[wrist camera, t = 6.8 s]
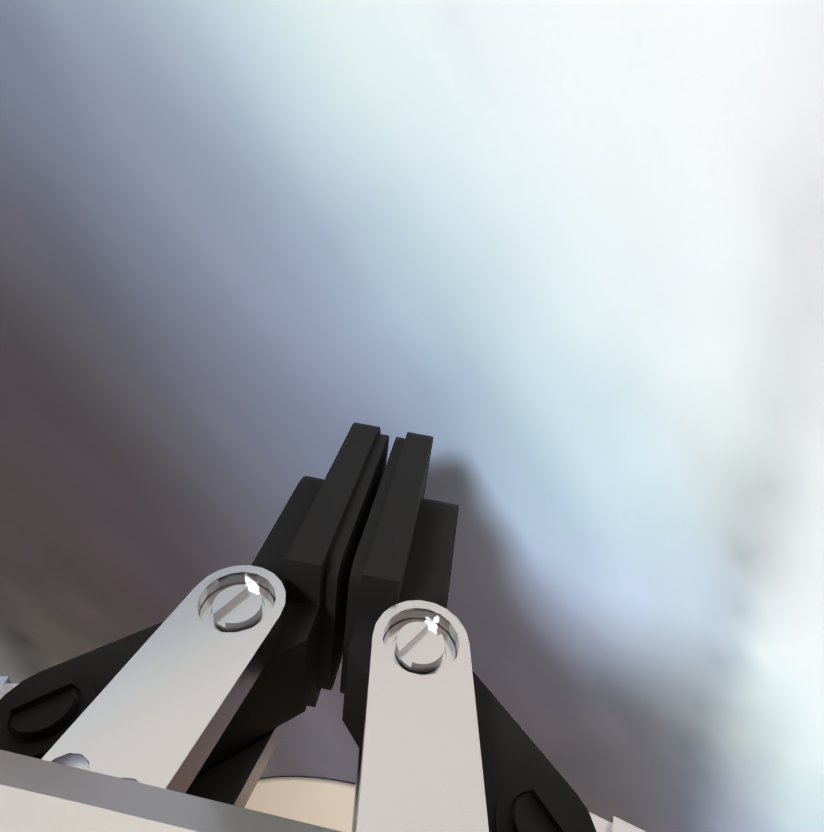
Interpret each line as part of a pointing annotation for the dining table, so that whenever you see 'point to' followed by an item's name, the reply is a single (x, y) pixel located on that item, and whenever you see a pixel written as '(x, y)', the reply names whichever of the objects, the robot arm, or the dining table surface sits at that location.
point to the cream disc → (306, 800)
